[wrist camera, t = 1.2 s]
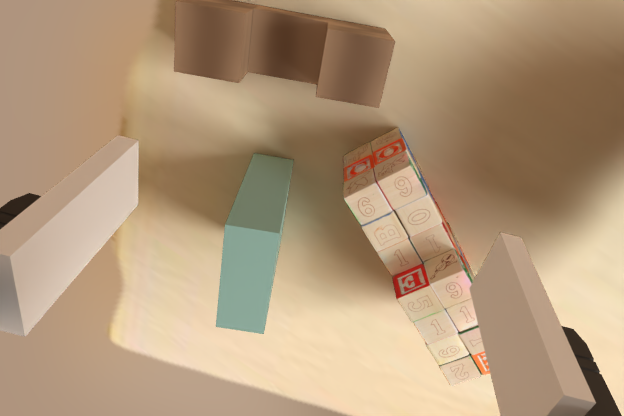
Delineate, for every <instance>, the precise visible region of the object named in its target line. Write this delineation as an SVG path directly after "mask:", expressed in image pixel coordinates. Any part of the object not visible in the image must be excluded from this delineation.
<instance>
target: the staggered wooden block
mask: <svg viewBox="0 0 624 416" xmlns="http://www.w3.org/2000/svg"><path fill="white" fill-rule="evenodd" d="M394 44H395V41H394V39H393V38H392V37H391V35H390V34H389V33H388V32H387V30H386V29H384V28H378V27H373V26H367V25H362V24H357V23H351V22H346V21H341V20H335V19H330V18H324V17H319V16H314V15H308V14H303V13H298V12H292V11H287V10H282V9H276V8H271V7H265V6H260V5H255V4H249V3H244V2H239V1H233V0H177V1H176V14H175V58H174V71H175V72H180V73H186V74H191V75H197V76H203V77H208V78H214V79H219V80H225V81H231V82H236V83H239V82H240V81H241V80H242V79H243V77H244V76H245V75H246V73H247V72H251V73H257V74H262V75H268V76H273V77H279V78H285V79H290V80H296V81H301V82H307V83H312V84H317V92H316V97H320V98H326V99H332V100H337V101H343V102H348V103H354V104H360V105H365V106H371V107H376V108H379V106H380V102H381V98H382V93H383V89H384V85H385V81H386V77H387V73H388V69H389V65H390V61H391V57H392V52H393V48H394Z"/></svg>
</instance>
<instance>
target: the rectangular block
mask: <svg viewBox="0 0 624 416" xmlns="http://www.w3.org/2000/svg"><path fill="white" fill-rule="evenodd" d="M293 162H294V160H292V159H286V158H280V157H274V156H268V155H262V154H257V153H254V154H253V157H252V159H251V162H250V164H249V167H248V169H247V172H246V174H245V177H244V179H243V182H242V184H241V187H240V189H239V191H238V194H237V196H236V199H235V201H234V204H233V206H232V209H231V211H230V214H229V216H228V219H227V221H226V224H225V231H224V242H223V253H222V264H221V276H220V287H219V298H218V309H217V320H216V327H221V328H228V329H234V330H241V331H247V332H254V333H260V334H264V330H265V324H266V319H267V313H268V308H269V302H270V297H271V291H272V286H273V281H274V275H275V270H276V264H277V259H278V253H279V248H280V242H281V236H282V230H283V224H284V218H285V211H286V205H287V199H288V193H289V186H290V180H291V174H292V168H293Z"/></svg>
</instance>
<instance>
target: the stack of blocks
mask: <svg viewBox="0 0 624 416" xmlns="http://www.w3.org/2000/svg"><path fill="white" fill-rule="evenodd" d="M343 163H344V169H343V171H344V183H343V196H344V200H345V202H346V204H347V205H348V207H349V208H350V210H351V211H352V213H353V215H354V216H355V218H356V219H357V221H358V222H359V224H360V225H361V228H362V230H363V231H364V233H365V235H366V236H367V238H368V239H369V241H370V242H371V244H372V246H373V247H374V249H375V250H376V252H377V254H378V256H379V257H380V259H381V260H382V262H383V263H384V265H385V266H386V268H387V269H388V271H389V273H390V274H391V275H392V276H393V277H392V279H393V284H394V289H395V293H396V298H397V300H398V302H399V303H400V305H401V306H402V308H403V309H404V311H405V313H406V314H407V316H408V317H409V319H410V320H411V321H412V322H413V323H414V325H415V326H416V328H417V330H418V331H419V333H420V334H421V336H422V337H423V339H424V341H425V343H426V346H427V348H428V349H429V351H430V352H431V354H432V355H433V357H434V359H435V360H436V362H437V363H438V365H439V367H440V369H441V371H442V372H443V374H444V376H445V377H446V379H447V381H448V382H449V384H450V385H451V386H454V385H457V384H460V383H463V382H466V381H469V380H472V379H475V378H479V377H481V375H486V374H490V370H489V366H488V362H487V358H486V354H485V350H484V346H483V342H482V338H481V334H480V330H479V326H478V321H477V317H476V313H475V309H474V305H473V301H472V297H471V293H470V289H469V288H470V286H471V284H472V283H473V281H474V279H475V277H474V275H473V273H472V270H471V268H470V266H469V264H468V262H467V260H466V258H465V256H464V254H463V252H462V250H461V248H460V246H459V244H458V241H457V239H456V237H455V235H454V233H453V231H452V229H451V227H450V225H449V224H448V223H447V222H446V220H445V218H444V216H443V214H442V212H441V210H440V208H439V206H438V204H437V202H436V201H435V200H434V198H433V196H432V194H431V192H430V190H429V187H428V184H427V182H426V179H425V177H424V175H423V173H422V171H421V169H420V167H419V165H418V163H417V161H416V159H415V157H414V155H413V154H412V153H411V151H410V149H409V147H408V145H407V143H406V141H405V139H404V137H403V135H402V133H401V131H400V129H399V128H396V129H394V130H392V131H390V132H388V133H386V134H384V135H382V136H380V137H378V138H376V139H374V140H372V141H371V142H368V143H366V144H364V145H362V146H360V147H358V148H357V149H355V150H353V151H351V152H349V153H348V154H346V155H344V156H343Z"/></svg>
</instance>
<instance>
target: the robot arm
mask: <svg viewBox="0 0 624 416" xmlns="http://www.w3.org/2000/svg"><path fill="white" fill-rule="evenodd" d="M138 170H139V140H135V139H131V138H127V137H123V136H119V135H117V136H116V137H114V138H113V139H112V140H111V141H109V143H107V144H106V145H104V146H103V147H102V148H101V149H100V150H98V151H97V152H96V153H95V154H93V155H92V156H91V157H90V158H88V159H87V160H86V161H85V162H83V163H82V164H81V165H80V166H79V167H77V168H76V169H75V170H73V171H72V172H71V173H70V174H69V175H67V176H66V177H65V178H64V179H62V180H61V181H60V182H59V183H57V184H56V185H55V186H54V187H52V188H51V189H50V190H49V191H47V192H46V193H45V194H44V195H42V196H38V195H34V194H30V193H29V194H26V195H24V196H21V197H18V198H16V199H13V200H11V201H9V202H8V203H7V204H5V205H4V206H3V207H1V208H0V331H5V332H9V333H13V334H17V335H21V336H26V335H27V334H28V333H29V331H30V330H31V329H32V328H33V327H34V326H35V324H36V323H37V322H38V321H39V320H40V319H41V318H42V316H43V315H44V314H45V313H46V312H47V311H48V309H49V308H50V307H51V306H52V305H53V304H54V302H55V301H56V300H57V299H58V298H59V297H60V295H61V294H62V293H63V292H64V291H65V290H66V288H67V287H68V286H69V285H70V284H71V283H72V281H73V280H74V279H75V278H76V277H77V276H78V274H79V273H80V272H81V271H82V270H83V269H84V267H85V266H86V265H87V264H88V263H89V262H90V260H91V259H92V258H93V257H94V256H95V254H96V253H97V252H98V251H99V250H100V248H102V246H103V245H104V244H105V243H106V242H107V240H108V239H109V238H110V237H111V236H112V235H113V234H114V232H115V231H116V230H117V229H118V228H119V227H120V225H121V224H122V223H123V222H124V221H125V220H126V218H127V217H128V216H129V215H130V214H131V213H132V211H133V210H134V209H135V208H136V207H137V206H138ZM469 289H470V293H471V297H472V301H473V305H474V309H475V313H476V317H477V321H478V326H479V330H480V334H481V338H482V342H483V346H484V350H485V354H486V358H487V362H488V366H489V370H490V374H491V378H492V382H493V386H494V390H495V395H496V399H497V403H498V407H499V411H500V415H501V416H622V415H621V413H620V411H619V409H618V407H617V405H616V403H615V401H614V399H613V397H612V395H611V393H610V391H609V389H608V387H607V385H606V383H605V381H604V379H603V377H602V375H601V374H599V372H600V371H599V369H598V367H597V365H596V363H595V362H593V360H594V359H593V357H592V354H591V352H590V350H589V348H588V346H587V344H586V343H585V342H584V341H583V340H582V339H581V337H580V336H579V335H578V334H577V333H576V332H575V331H574V329H571V328H567V327H563V326H561V324H560V322H559V320H558V318H557V315H556V313H555V311H554V309H553V307H552V304H551V302H550V300H549V298H548V296H547V293H546V291H545V289H544V287H543V284H542V282H541V280H540V278H539V276H538V273H537V271H536V269H535V267H534V265H533V262H532V260H531V258H530V256H529V253H528V251H527V249H526V247H525V245H524V242H523V240H522V238H521V237H518V236H514V235H510V234H506V233H502V232H500V233H499V235H498V237H497V239H496V241H495V243H494V244H493V246H492V248H491V250H490V252H489V253H488V255H487V257H486V259H485V261H484V263H483V264H482V266H481V268H480V270H479V272H478V274H477V275H476V277H475V279H474V281H473V283H472V284H471V286H470V288H469Z"/></svg>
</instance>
